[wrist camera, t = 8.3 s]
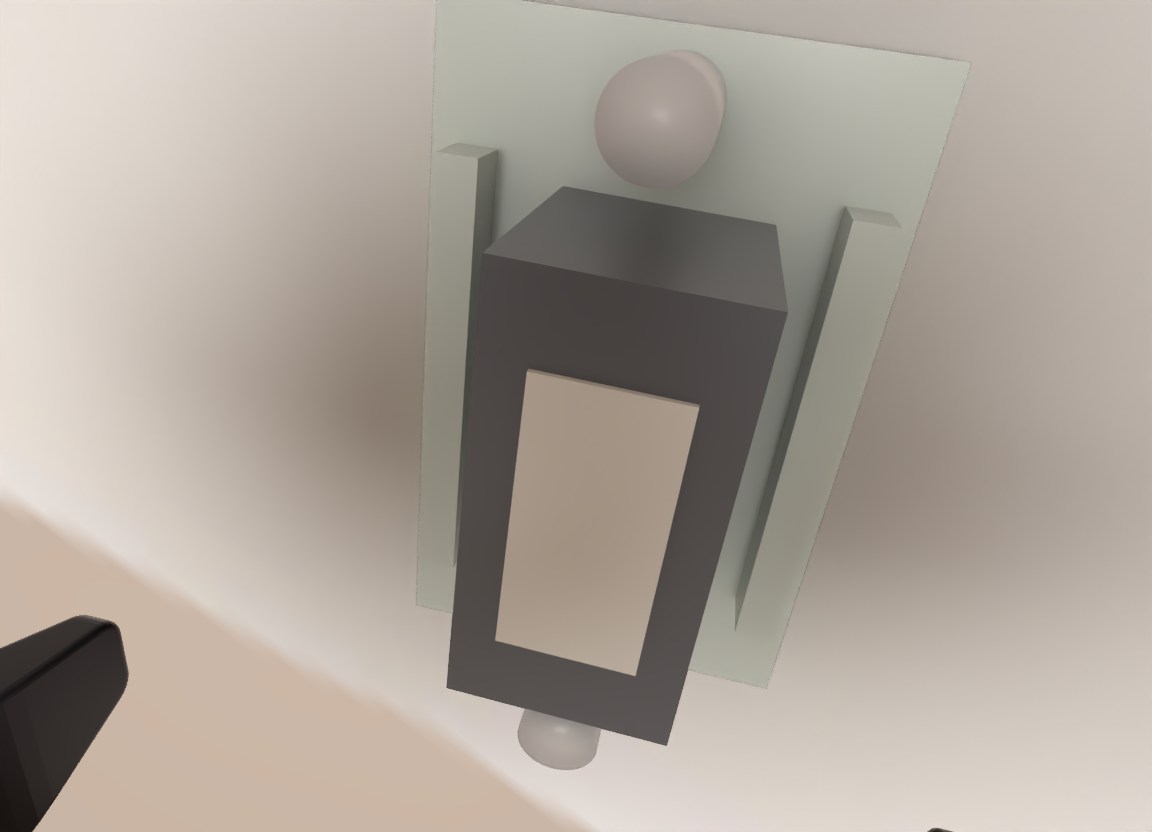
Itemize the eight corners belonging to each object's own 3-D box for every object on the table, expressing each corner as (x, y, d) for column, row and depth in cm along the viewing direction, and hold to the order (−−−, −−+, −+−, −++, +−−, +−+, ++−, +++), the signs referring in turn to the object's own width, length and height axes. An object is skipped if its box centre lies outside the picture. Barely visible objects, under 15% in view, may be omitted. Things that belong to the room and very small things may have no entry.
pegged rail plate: (957, 60, 13) (1059, 74, 9) (765, 659, 20) (770, 839, 15) (456, -9, 14) (327, -27, 10) (430, 580, 21) (344, 727, 16)
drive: (776, 225, 14) (788, 315, 10) (687, 569, 18) (666, 750, 13) (562, 185, 15) (479, 255, 10) (519, 530, 18) (444, 691, 14)
